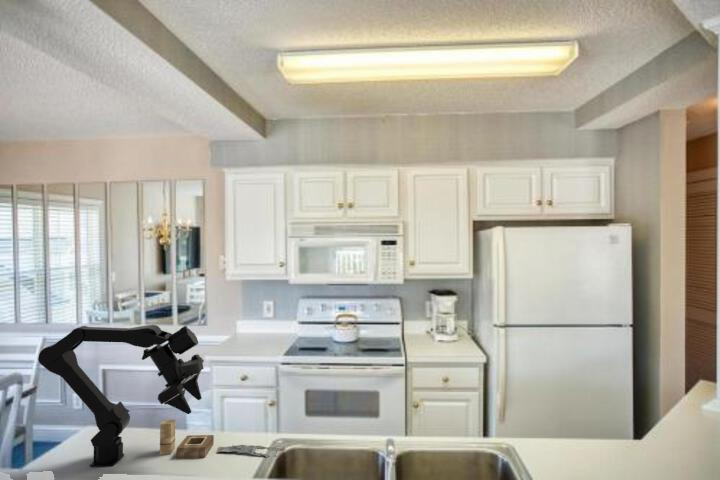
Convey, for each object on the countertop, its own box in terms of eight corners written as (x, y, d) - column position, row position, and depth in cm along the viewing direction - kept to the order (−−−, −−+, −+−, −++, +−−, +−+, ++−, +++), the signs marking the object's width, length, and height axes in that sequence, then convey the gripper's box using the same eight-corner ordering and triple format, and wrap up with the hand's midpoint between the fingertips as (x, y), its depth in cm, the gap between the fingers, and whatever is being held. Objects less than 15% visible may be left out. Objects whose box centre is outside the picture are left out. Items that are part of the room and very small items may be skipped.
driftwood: (212, 455, 125) (212, 448, 125) (223, 445, 131) (223, 438, 131) (277, 462, 121) (277, 454, 121) (285, 451, 128) (285, 444, 128)
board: (176, 458, 122) (176, 447, 122) (187, 445, 130) (187, 435, 130) (205, 457, 122) (205, 446, 122) (213, 444, 130) (213, 434, 130)
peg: (159, 454, 124) (160, 424, 124) (164, 449, 127) (164, 419, 127) (170, 454, 124) (171, 424, 124) (175, 449, 127) (175, 419, 127)
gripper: (178, 359, 115) (209, 406, 116) (200, 340, 133) (226, 380, 134) (143, 380, 114) (174, 426, 115) (170, 358, 133) (196, 398, 134)
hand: (195, 406), depth 125 cm, fingers open, 9 cm apart
